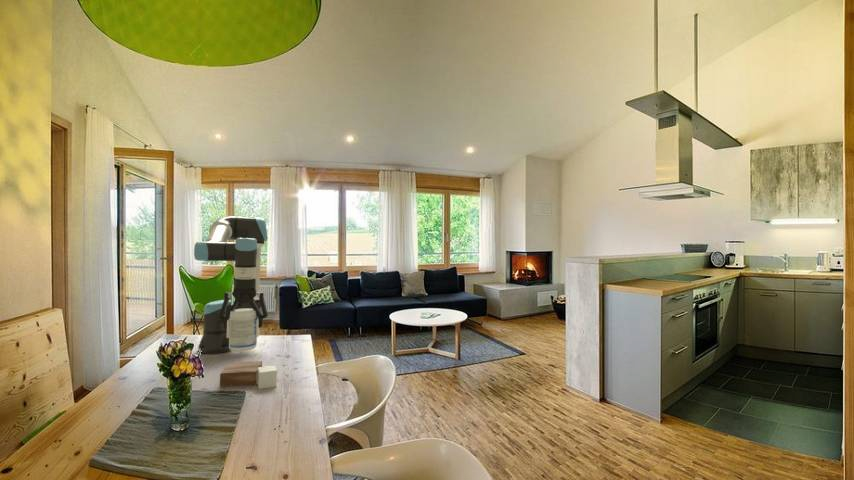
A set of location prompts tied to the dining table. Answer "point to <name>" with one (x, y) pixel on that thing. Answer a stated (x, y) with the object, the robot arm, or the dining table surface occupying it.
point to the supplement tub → (242, 330)
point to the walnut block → (240, 374)
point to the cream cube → (267, 376)
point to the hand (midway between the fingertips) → (243, 336)
